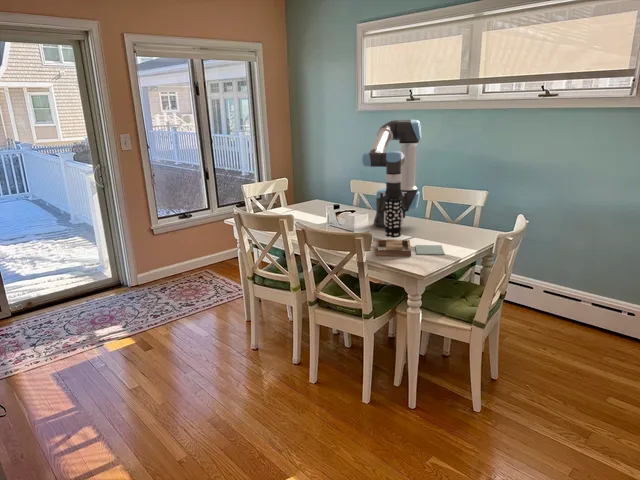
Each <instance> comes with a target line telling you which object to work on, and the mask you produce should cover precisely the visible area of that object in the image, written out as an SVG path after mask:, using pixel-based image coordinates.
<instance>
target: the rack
mask: <svg viewBox="0 0 640 480" xmlns="http://www.w3.org/2000/svg"><path fill="white" fill-rule="evenodd" d="M386 240H387V239H375V257H412V247H411V241H410V239H402V246H403V247H407V248H406V249H403V250H386V249H379V246H381V247H382V246H383V247H384V246H385V247H386Z"/></svg>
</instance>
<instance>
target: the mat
mask: <svg viewBox="0 0 640 480" xmlns="http://www.w3.org/2000/svg"><path fill="white" fill-rule="evenodd" d="M414 247H415V253H416V255H417V256H418V255H419V256H423V255H424V256H439V255H440V256H445V255H446V253H445V251H444V249H443V246H442V245H441V244H440V245H439V244H415V245H414Z"/></svg>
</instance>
